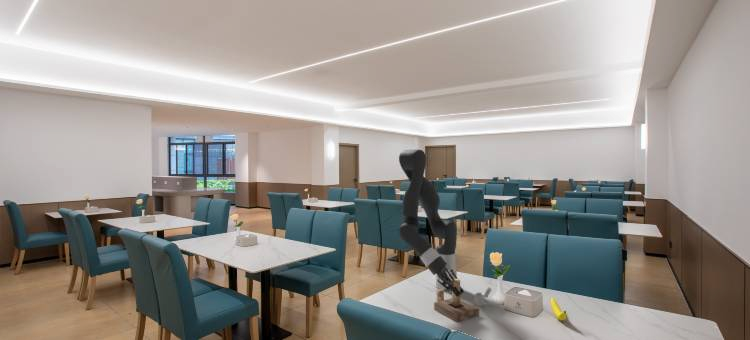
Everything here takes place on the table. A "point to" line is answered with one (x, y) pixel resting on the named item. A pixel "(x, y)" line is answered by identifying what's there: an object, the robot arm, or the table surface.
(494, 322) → the table surface
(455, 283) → the long pin
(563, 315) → the banana
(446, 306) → the hole plate
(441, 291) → the short pin
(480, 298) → the lighter
